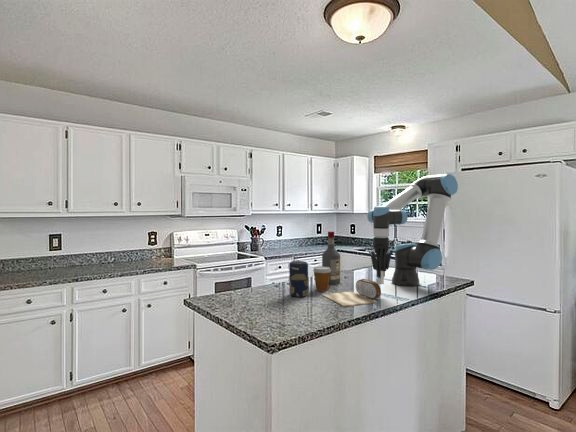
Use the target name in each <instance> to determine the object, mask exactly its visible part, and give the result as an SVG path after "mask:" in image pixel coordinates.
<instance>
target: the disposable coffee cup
mask: <svg viewBox="0 0 576 432" xmlns="http://www.w3.org/2000/svg"><path fill="white" fill-rule="evenodd" d="M312 271H313V275H314V282H315V291H317V292H327V291H328V290H329V285H330V284H329V276H330V271H331V270H330V267H324V266H322V265H321V266H320V265H319V266H314V267H313V269H312Z"/></svg>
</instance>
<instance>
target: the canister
mask: <svg viewBox="0 0 576 432" xmlns="http://www.w3.org/2000/svg"><path fill="white" fill-rule="evenodd" d="M308 263H309V262H307V261H304V260H303V261H302V260H299V259H298V260H295V261H290V262H289V271H288V274H289V284H288V285H289V288H288V289H289V295H290V296H292V297H298V298H299V297H306V296H308V295H309V264H308Z"/></svg>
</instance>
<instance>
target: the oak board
mask: <svg viewBox="0 0 576 432" xmlns="http://www.w3.org/2000/svg"><path fill="white" fill-rule="evenodd" d="M322 296H323V297H325V298H326V299H328V300H330V301H332V302H334V303H336V304H338V305H340V306H342V307H343V308H347V307H354V306H355V307H356V306H363V305H370V304H371V305H372V304H377V301H376V300H374V299H370V298H367V297H364V296H362V295H360V294H359V293H358V292H357V293H356V292H354V291H343V292H336V293H325V294H322Z"/></svg>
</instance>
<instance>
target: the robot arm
mask: <svg viewBox="0 0 576 432" xmlns="http://www.w3.org/2000/svg"><path fill="white" fill-rule="evenodd" d="M458 189H459V184H458V181H457V179H456V177H455V176H454V175H453V174H451V173H441V174H431V175H425V176H424V175H423V176H422V177H421V178H418V179H416V180H415V181H413V182H412V183H411V184H409V185H408V186H407V188H406V189H405V190H403V191H402V192H401V193H399V194H397V195H396V196H395V197H393V198H391V199H390V200H389V201H387V202H385V203H384V204H382V205H380V206H379V205H378V206H377V205H375V206H374V207H373V209H370V210H369V211H368V213H367V214H366V215H367V216H366V217H367V221H368V222H369V223H371V224H373V227H372V228H373V235H372V236H373V241H372V243H373V246H372V250H369V251H368V253H369V255H370V260H371V265H372V268H373V270H375V271H376V277H377V284H378V285H384V282H385V279H384V278H385V276H386V271H387V270H389V268H390V263H391V257H392V254H393V251H394V272H393V276H392V277H391V283H392V284H394V285H397V286H400V287H401V286H403V287H415V286H416V287H417V286H419V285H420V278H419V275H418V272H417V268H418V269H423V270H426V271H434V270H436V269H437V268H439V267H440V265H441V264H442V261H443V253H442V251H441V250H440V248H441V247H440V246H439V244H438V243H439V237H440V232H441V229H442V225H443V219H444V215H445V211H446V206H447V202H449V201H451V198H452V196H454V195H455V194H456V193H457V192H458ZM427 196H428V198H429V204H428V207H427V212H426V217H425V220H424V225H423V230H422V233H421V237H420V238H421V239H420V240H418V241H417V242H416V243H402V244H397V245H395V248H394V250H391V249H390V247H389V245H390V238H389V236H390V226H392V225H394V226H395V225H396V226H399V225H400V226H401V225H405V224H406V223H407V222H408V213H407V212H406V211H405V210H403V209H404V208H405V207H406V206H407V205H410V203H412V202H414V200H419V199H420V198H422V197H427Z"/></svg>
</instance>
